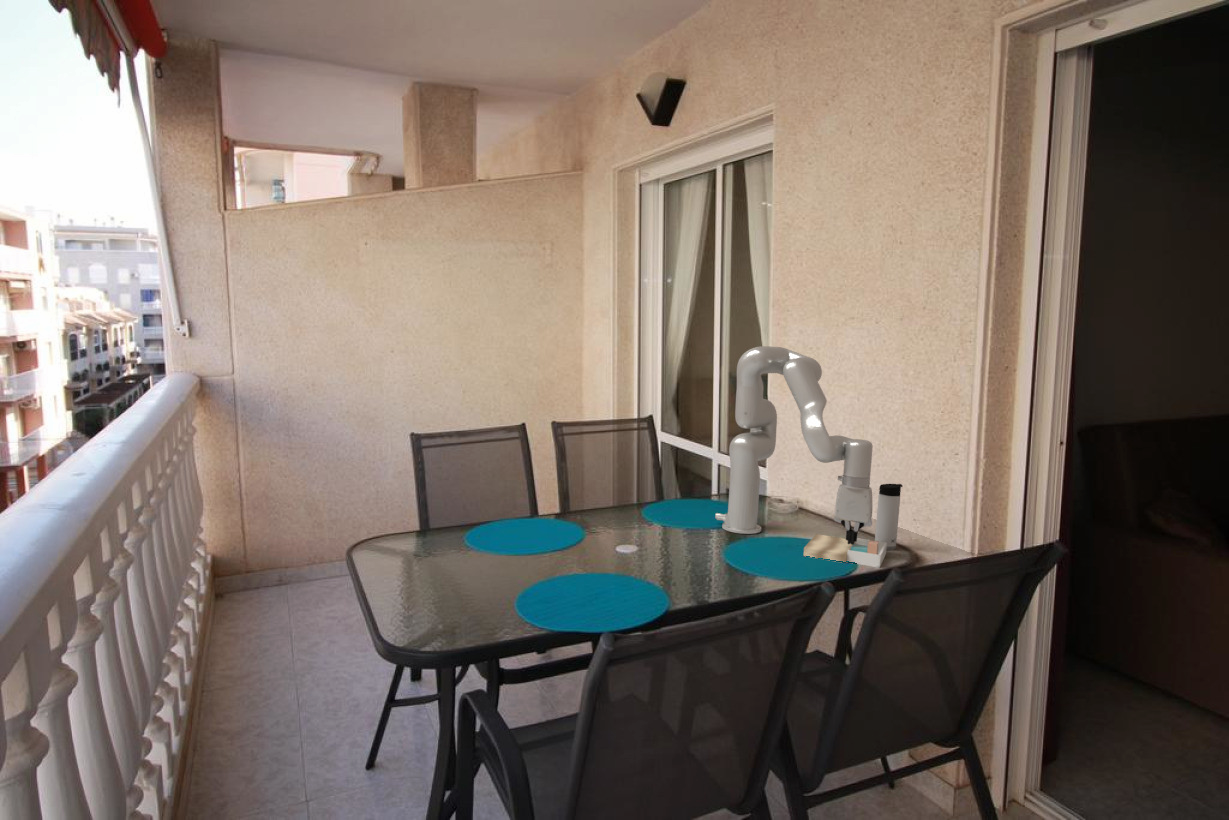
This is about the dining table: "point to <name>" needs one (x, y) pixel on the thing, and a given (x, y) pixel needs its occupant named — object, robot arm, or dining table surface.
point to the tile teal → (859, 548)
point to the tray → (867, 554)
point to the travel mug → (888, 514)
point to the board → (827, 548)
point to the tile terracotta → (873, 547)
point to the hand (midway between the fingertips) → (851, 543)
